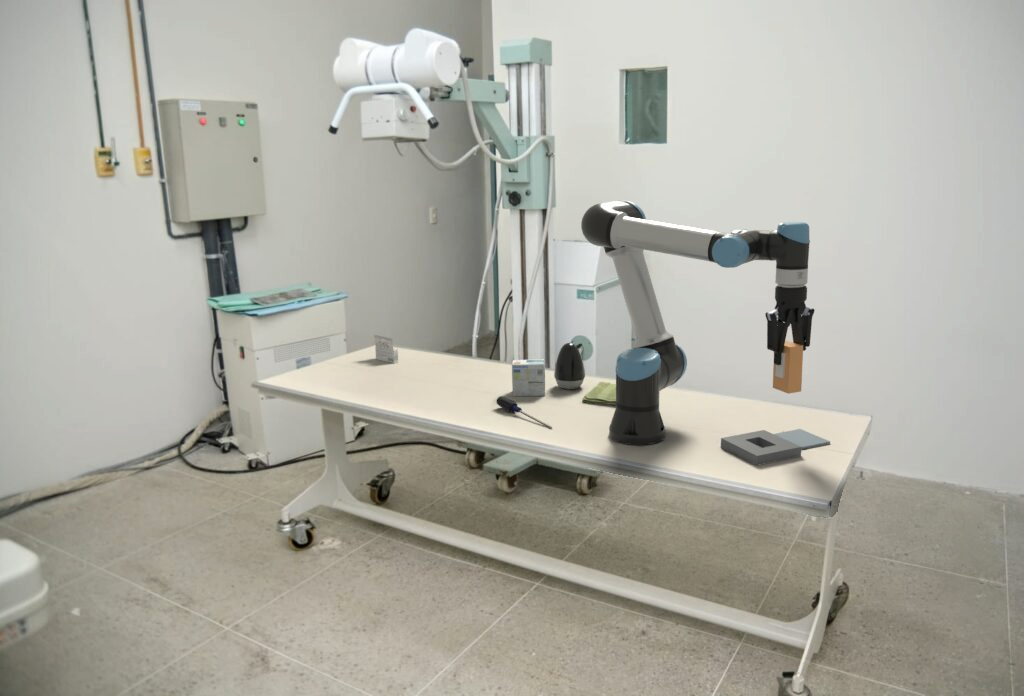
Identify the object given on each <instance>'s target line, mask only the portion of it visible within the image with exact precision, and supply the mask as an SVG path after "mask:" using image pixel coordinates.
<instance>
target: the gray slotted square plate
mask: <svg viewBox="0 0 1024 696" xmlns="http://www.w3.org/2000/svg"><path fill="white" fill-rule="evenodd" d="M774 434H775V433H771V432H769V431H768V430H765V429H762V430H757V431H752V432H747V433H741V434H736V435H730V436H724V437H721V438H720V448H721V449H724V450H725V449H726V451H727V450H728V452H730V453H731V452H732V454H734V455H735V456H737V455H738V456H737V457H738V458H741V459H744V460H746V461H748V462H749V461H750V462H749V463H751V464H753V463H754V464H753V465H755V464H756V465H755V466H759V464H761V465H765V464H769V462H770V463H774V462H778V461H784V460H785V461H786V460H788V459H794V458H798V457H801V456H802V449H801V448H802V447H801V446H799V445H796V444H794V443H792V442H790V441H788V440H785V439H783V438H781V437H779V436H776V435H774ZM764 463H765V464H764Z"/></svg>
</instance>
